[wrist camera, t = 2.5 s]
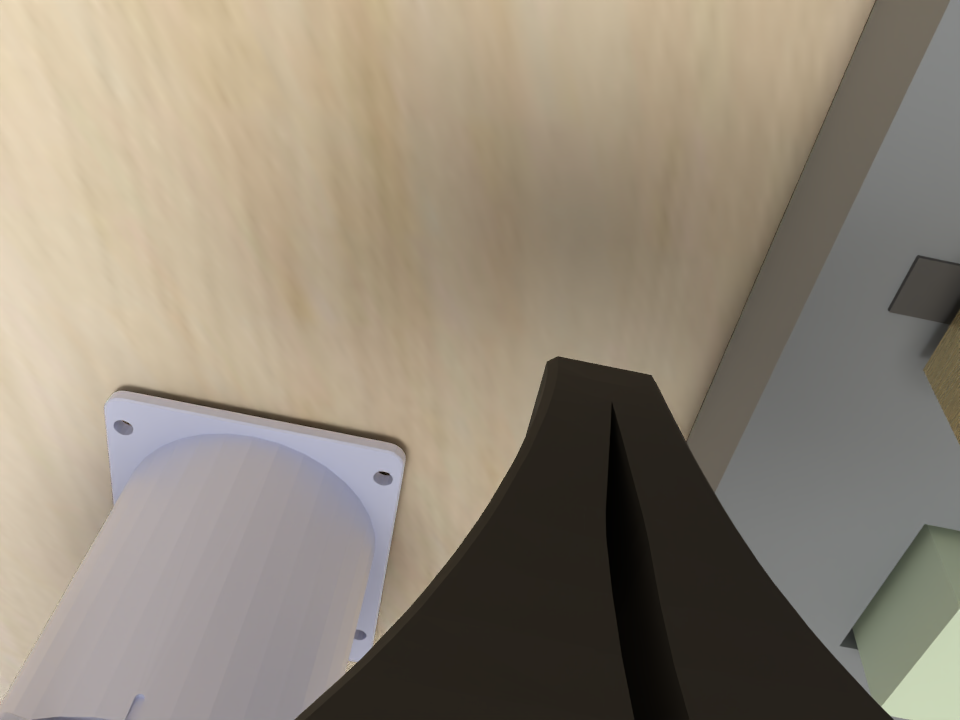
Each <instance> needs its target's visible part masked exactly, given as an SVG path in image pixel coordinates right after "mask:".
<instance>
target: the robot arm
mask: <svg viewBox="0 0 960 720" xmlns="http://www.w3.org/2000/svg"><path fill="white" fill-rule="evenodd" d="M104 413H105V423H106V433H107V443H108V454H109V464H110V474H111V484H112V495H113V505H114V507H113V508H112V510H111V512H110V514H109V515H108V517H107V519H106V521H105V522H104V524H103V526H102V528H101V529H100V531H99V533H98V535H97V536H96V538H95V540H94V542H93V543H92V545H91V547H90V549H89V550H88V552H87V554H86V556H85V557H84V559H83V561H82V563H81V564H80V566H79V568H78V570H77V571H76V573H75V575H74V577H73V578H72V580H71V582H70V584H69V585H68V587H67V589H66V591H65V592H64V594H63V596H62V598H61V599H60V601H59V603H58V605H57V606H56V608H55V610H54V612H53V613H52V615H51V617H50V619H49V620H48V622H47V624H46V626H45V627H44V629H43V631H42V633H41V634H40V636H39V638H38V640H37V641H36V643H35V645H34V647H33V648H32V650H31V652H30V654H29V655H28V657H27V659H26V661H25V662H24V664H23V666H22V668H21V669H20V671H19V673H18V675H17V676H16V678H15V680H14V681H13V683H12V685H11V687H10V688H9V690H8V692H7V694H6V695H5V697H4V699H3V701H2V702H1V704H0V720H894V719H893V718H892V717H891V716H890V715H889V714H888V713H887V712H886V711H885V710H884V709H883V708H882V707H881V706H880V705H879V704H878V703H877V702H876V701H875V700H874V699H873V698H872V697H871V696H870V695H869V694H868V693H867V691H866V690H865V689H864V688H863V687H862V686H861V685H860V684H859V683H858V682H857V681H856V679H855V678H854V677H853V676H852V675H851V674H850V673H849V672H848V671H847V670H846V669H845V668H844V666H843V665H842V664H841V663H840V662H839V661H838V660H837V659H836V658H835V657H834V656H833V654H832V653H831V652H830V651H829V650H828V649H827V648H826V646H825V645H824V644H823V643H822V642H821V641H820V639H819V638H818V637H817V636H816V635H815V634H814V632H813V631H812V630H811V629H810V628H809V627H808V625H807V624H806V623H805V622H804V620H803V619H802V618H801V616H800V615H799V614H798V613H797V611H796V610H795V609H794V608H793V606H792V605H791V604H790V603H789V601H788V600H787V599H786V597H785V596H784V595H783V594H782V592H781V591H780V590H779V589H778V587H777V586H776V585H775V584H774V582H773V581H772V580H771V578H770V577H769V575H768V574H767V573H766V571H765V570H764V569H763V567H762V566H761V564H760V563H759V562H758V560H757V559H756V557H755V556H754V554H753V553H752V551H751V550H750V548H749V547H748V545H747V544H746V542H745V541H744V539H743V538H742V536H741V535H740V533H739V532H738V530H737V529H736V527H735V525H734V524H733V522H732V521H731V519H730V517H729V516H728V514H727V513H726V511H725V509H724V508H723V506H722V504H721V503H720V501H719V499H718V498H717V496H716V494H715V492H714V491H713V489H712V487H711V486H710V484H709V482H708V480H707V479H706V477H705V475H704V474H703V472H702V470H701V468H700V467H699V465H698V463H697V461H696V459H695V458H694V456H693V454H692V452H691V450H690V448H689V446H688V445H687V443H686V441H685V439H684V437H683V435H682V433H681V431H680V429H679V427H678V425H677V424H676V422H675V420H674V418H673V416H672V414H671V412H670V410H669V408H668V406H667V404H666V402H665V400H664V398H663V396H662V394H661V392H660V390H659V388H658V386H657V384H656V382H655V381H654V379H653V377H652V376H651V375H648V374H643V373H638V372H633V371H628V370H623V369H618V368H613V367H608V366H603V365H598V364H593V363H588V362H583V361H578V360H573V359H568V358H563V357H555V358H553V359H551V360H549V361H547V363H546V367H545V370H544V374H543V377H542V381H541V384H540V388H539V392H538V395H537V399H536V402H535V406H534V409H533V413H532V416H531V420H530V423H529V427H528V430H527V434H526V437H525V439H524V441H523V444H522V446H521V448H520V450H519V452H518V454H517V456H516V458H515V460H514V462H513V464H512V465H511V467H510V469H509V471H508V472H507V474H506V476H505V477H504V479H503V481H502V482H501V484H500V486H499V488H498V489H497V491H496V493H495V494H494V496H493V498H492V499H491V501H490V503H489V504H488V506H487V507H486V509H485V510H484V512H483V513H482V515H481V516H480V518H479V520H478V521H477V522H476V524H475V525H474V527H473V528H472V530H471V531H470V533H469V534H468V535H467V537H466V538H465V539H464V541H463V542H462V544H461V545H460V546H459V548H458V549H457V550H456V552H455V553H454V554H453V556H452V557H451V558H450V560H449V561H448V562H447V563H446V565H445V566H444V567H443V568H442V570H441V571H440V572H439V573H438V575H437V576H436V577H435V578H434V580H433V581H432V582H431V583H430V585H429V586H428V587H427V588H426V589H425V591H424V592H423V593H422V594H421V595H420V596H419V598H418V599H417V600H416V601H415V602H414V603H413V605H412V606H411V607H410V608H409V609H408V610H407V611H406V612H405V613H404V614H403V615H402V617H401V618H400V619H399V620H398V621H397V622H396V623H395V624H394V625H393V626H392V627H391V628H390V629H389V630H388V631H387V632H386V633H385V634H384V635H383V636H382V637H381V639H380V640H379V641H378V642H377V643H376V644H375V645H374V646H373V642H374V637H375V631H376V625H377V620H378V614H379V608H380V603H381V597H382V592H383V586H384V580H385V575H386V569H387V563H388V558H389V552H390V546H391V541H392V535H393V529H394V524H395V518H396V513H397V507H398V501H399V496H400V490H401V484H402V479H403V473H404V467H405V462H406V456H405V453H404V452H403V450H402V449H401V448H400V447H398V446H397V445H395V444H392V443H388V442H383V441H378V440H373V439H368V438H363V437H358V436H353V435H348V434H343V433H338V432H333V431H327V430H322V429H317V428H312V427H307V426H302V425H297V424H292V423H287V422H282V421H277V420H272V419H266V418H261V417H256V416H251V415H246V414H241V413H236V412H231V411H226V410H221V409H216V408H211V407H205V406H200V405H195V404H190V403H185V402H180V401H175V400H170V399H165V398H160V397H155V396H150V395H144V394H139V393H134V392H129V391H117V392H114V393H113V394H112V395H111V396H110V397H109V398H108V400H107V401H106V403H105V407H104ZM122 420H123V421H126V422H128V423H129V424H130V425H128V424H125V423H124V422H123V421H122ZM379 471H384V472H387V473H389V474H390V475H383V474H380V473H379ZM348 661H353V662H357V663H356V664H355V665H354V666H353V667H352V668H351V669H350V670H349V671H348V672H347V673H345V672H346V668H347V664H348Z"/></svg>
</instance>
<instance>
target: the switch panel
mask: <svg viewBox="0 0 960 720" xmlns="http://www.w3.org/2000/svg"><path fill="white" fill-rule="evenodd" d="M959 309H960V0H876V2H875V5H874V7H873V9H872V12H871V14H870V16H869V19H868V21H867V23H866V26H865V28H864V30H863V33H862V35H861V37H860V39H859V42H858V44H857V46H856V49H855V51H854V53H853V56H852V58H851V60H850V63H849V65H848V67H847V70H846V72H845V74H844V77H843V79H842V81H841V84H840V86H839V88H838V91H837V93H836V95H835V98H834V100H833V102H832V105H831V107H830V109H829V112H828V114H827V116H826V119H825V121H824V123H823V126H822V128H821V130H820V132H819V135H818V137H817V139H816V142H815V144H814V146H813V149H812V151H811V153H810V156H809V158H808V160H807V163H806V165H805V167H804V170H803V172H802V174H801V177H800V179H799V181H798V184H797V186H796V188H795V191H794V193H793V195H792V198H791V200H790V202H789V205H788V207H787V209H786V212H785V214H784V216H783V219H782V221H781V223H780V226H779V228H778V230H777V232H776V235H775V237H774V239H773V242H772V244H771V246H770V249H769V251H768V253H767V256H766V258H765V260H764V263H763V265H762V267H761V270H760V272H759V274H758V277H757V279H756V281H755V284H754V286H753V288H752V291H751V293H750V295H749V298H748V300H747V302H746V305H745V307H744V309H743V312H742V314H741V316H740V319H739V321H738V323H737V325H736V328H735V330H734V332H733V335H732V337H731V339H730V342H729V344H728V346H727V349H726V351H725V353H724V356H723V358H722V360H721V363H720V365H719V367H718V370H717V372H716V374H715V377H714V379H713V381H712V384H711V386H710V388H709V391H708V393H707V395H706V398H705V400H704V402H703V405H702V407H701V409H700V412H699V414H698V416H697V418H696V421H695V423H694V425H693V428H692V430H691V432H690V435H689V437H688V439H687V442H686V443H687V445H688V446H689V448H690V450H691V452H692V454H693V456H694V458H695V459H696V461H697V463H698V465H699V467H700V468H701V470H702V472H703V474H704V475H705V477H706V479H707V480H708V482H709V484H710V486H711V487H712V489H713V491H714V492H715V494H716V496H717V498H718V499H719V501H720V503H721V504H722V506H723V508H724V509H725V511H726V513H727V514H728V516H729V517H730V519H731V521H732V522H733V524H734V525H735V527H736V529H737V530H738V532H739V533H740V535H741V536H742V538H743V539H744V541H745V542H746V544H747V545H748V547H749V548H750V550H751V551H752V553H753V554H754V556H755V557H756V559H757V560H758V562H759V563H760V564H761V566H762V567H763V569H764V570H765V571H766V573H767V574H768V575H769V577H770V578H771V580H772V581H773V582H774V584H775V585H776V586H777V587H778V589H779V590H780V591H781V592H782V594H783V595H784V596H785V597H786V599H787V600H788V601H789V603H790V604H791V605H792V606H793V608H794V609H795V610H796V611H797V613H798V614H799V615H800V616H801V618H802V619H803V620H804V622H805V623H806V624H807V625H808V627H809V628H810V629H811V630H812V631H813V632H814V634H815V635H816V636H817V637H818V638H819V639H820V641H821V642H822V643H823V644H824V645H825V646H826V648H827V649H828V650H829V651H830V652H831V653H832V654H833V656H834V657H835V658H836V659H837V660H838V661H839V662H840V663H841V664H842V665H843V666H844V668H845V669H846V670H847V671H848V672H849V673H850V674H851V675H852V676H853V677H854V678H855V679H856V681H857V682H858V683H859V684H860V685H861V686H862V687H863V688H864V689H865V690H866V691H867V693H868V694H869V695H870V696H871V693H870V690H869V686H868V683H867V679H866V676H865V672H864V668H863V665H862V661H861V658H860V654H859V651H858V647H857V643H856V640H855V636H854V633H853V629H852V627H853V626H854V624H855V623H856V622H857V620H858V619H859V617H860V616H861V614H862V613H863V612H864V610H865V609H866V607H867V606H868V604H869V603H870V602H871V600H872V599H873V597H874V596H875V594H876V593H877V592H878V590H879V589H880V587H881V586H882V584H883V583H884V582H885V580H886V579H887V577H888V576H889V574H890V573H891V572H892V570H893V569H894V567H895V566H896V564H897V563H898V562H899V560H900V559H901V557H902V556H903V554H904V553H905V552H906V550H907V549H908V547H909V546H910V544H911V543H912V541H913V540H914V539H915V537H916V536H917V534H918V533H919V531H920V530H921V529H922V527H923V526H924V524H927V525H932V526H937V527H942V528H948V529H953V530H958V531H960V445H959V443H958V441H957V439H956V437H955V434H954V432H953V430H952V428H951V426H950V424H949V422H948V420H947V418H946V416H945V414H944V412H943V410H942V408H941V406H940V404H939V402H938V399H937V397H936V395H935V393H934V391H933V389H932V387H931V385H930V383H929V381H928V379H927V377H926V375H925V373H924V371H923V369H924V367H925V365H926V364H927V362H928V360H929V359H930V357H931V355H932V354H933V352H934V351H935V349H936V347H937V346H938V344H939V342H940V341H941V339H942V337H943V336H944V334H945V332H946V331H947V329H948V327H949V326H950V324H951V322H952V321H953V319H954V318H955V316H956V314H957V313H958V311H959ZM891 717H892V718H893V719H894V720H909V719H903V718H898V717H893V716H891Z"/></svg>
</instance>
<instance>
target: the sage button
mask: <svg viewBox="0 0 960 720" xmlns="http://www.w3.org/2000/svg"><path fill="white" fill-rule="evenodd" d="M852 629H853V633H854V636H855V640H856V643H857V647H858V651H859V654H860V658H861V661H862V665H863V668H864V672H865V676H866V679H867V683H868V686H869V690H870V693H871V697H872V698H873V699H874V700H875V701H876V702H877V703H878V704H879V705H880V706H881V707H882V708H883V709H884V710H885V711H886V712H887V713H888V714H889V715H890V716H893V717H898V718H903V719H909V720H960V531H958V530H953V529H948V528H942V527H937V526H932V525H927V524H924V526H923V527H922V529H921V530H920V531H919V533H918V534H917V536H916V537H915V539H914V540H913V541H912V543H911V544H910V546H909V547H908V549H907V550H906V552H905V553H904V554H903V556H902V557H901V559H900V560H899V562H898V563H897V564H896V566H895V567H894V569H893V570H892V572H891V573H890V574H889V576H888V577H887V579H886V580H885V582H884V583H883V584H882V586H881V587H880V589H879V590H878V592H877V593H876V594H875V596H874V597H873V599H872V600H871V602H870V603H869V604H868V606H867V607H866V609H865V610H864V612H863V613H862V614H861V616H860V617H859V619H858V620H857V622H856V623H855V624H854V626H853V627H852Z"/></svg>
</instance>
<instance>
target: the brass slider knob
mask: <svg viewBox="0 0 960 720" xmlns="http://www.w3.org/2000/svg"><path fill="white" fill-rule="evenodd" d="M923 371H924V373H925V375H926V377H927V379H928V381H929V383H930V385H931V387H932V389H933V391H934V393H935V395H936V397H937V399H938V402H939V404H940V406H941V408H942V410H943V412H944V414H945V416H946V418H947V420H948V422H949V424H950V426H951V428H952V430H953V432H954V434H955V437H956V439H957V441H958V443H959V445H960V309H959V311H958V313H957V314H956V316H955V318H954V319H953V321H952V322H951V324H950V326H949V327H948V329H947V331H946V332H945V334H944V336H943V337H942V339H941V341H940V342H939V344H938V346H937V347H936V349H935V351H934V352H933V354H932V355H931V357H930V359H929V360H928V362H927V364H926V365H925V367H924V369H923Z"/></svg>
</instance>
